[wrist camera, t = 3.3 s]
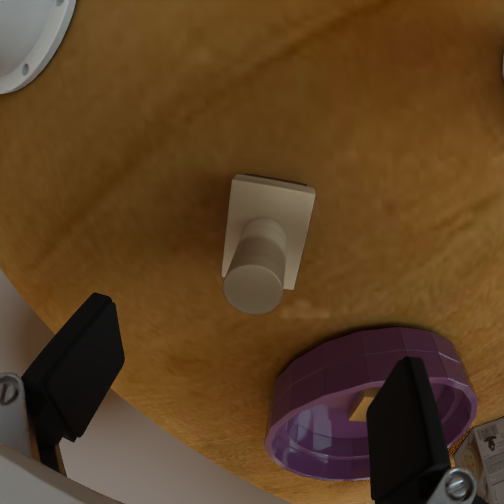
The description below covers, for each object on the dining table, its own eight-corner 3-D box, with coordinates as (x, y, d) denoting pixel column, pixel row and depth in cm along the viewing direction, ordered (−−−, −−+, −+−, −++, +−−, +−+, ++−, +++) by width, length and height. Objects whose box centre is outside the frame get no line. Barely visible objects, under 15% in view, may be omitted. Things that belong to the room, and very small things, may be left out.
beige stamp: (294, 266, 20) (289, 350, 14) (230, 254, 20) (198, 333, 14) (313, 180, 17) (322, 235, 11) (240, 167, 18) (205, 213, 11)
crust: (347, 410, 26) (348, 420, 25) (363, 386, 24) (364, 396, 23) (375, 412, 26) (376, 422, 25) (393, 388, 24) (395, 398, 23)
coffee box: (486, 445, 30) (504, 528, 16) (452, 456, 32) (465, 544, 18) (508, 414, 26) (535, 509, 12) (471, 427, 28) (493, 531, 14)
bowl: (258, 430, 30) (251, 473, 26) (296, 305, 22) (294, 363, 17) (405, 440, 29) (411, 478, 25) (492, 332, 21) (516, 377, 16)
